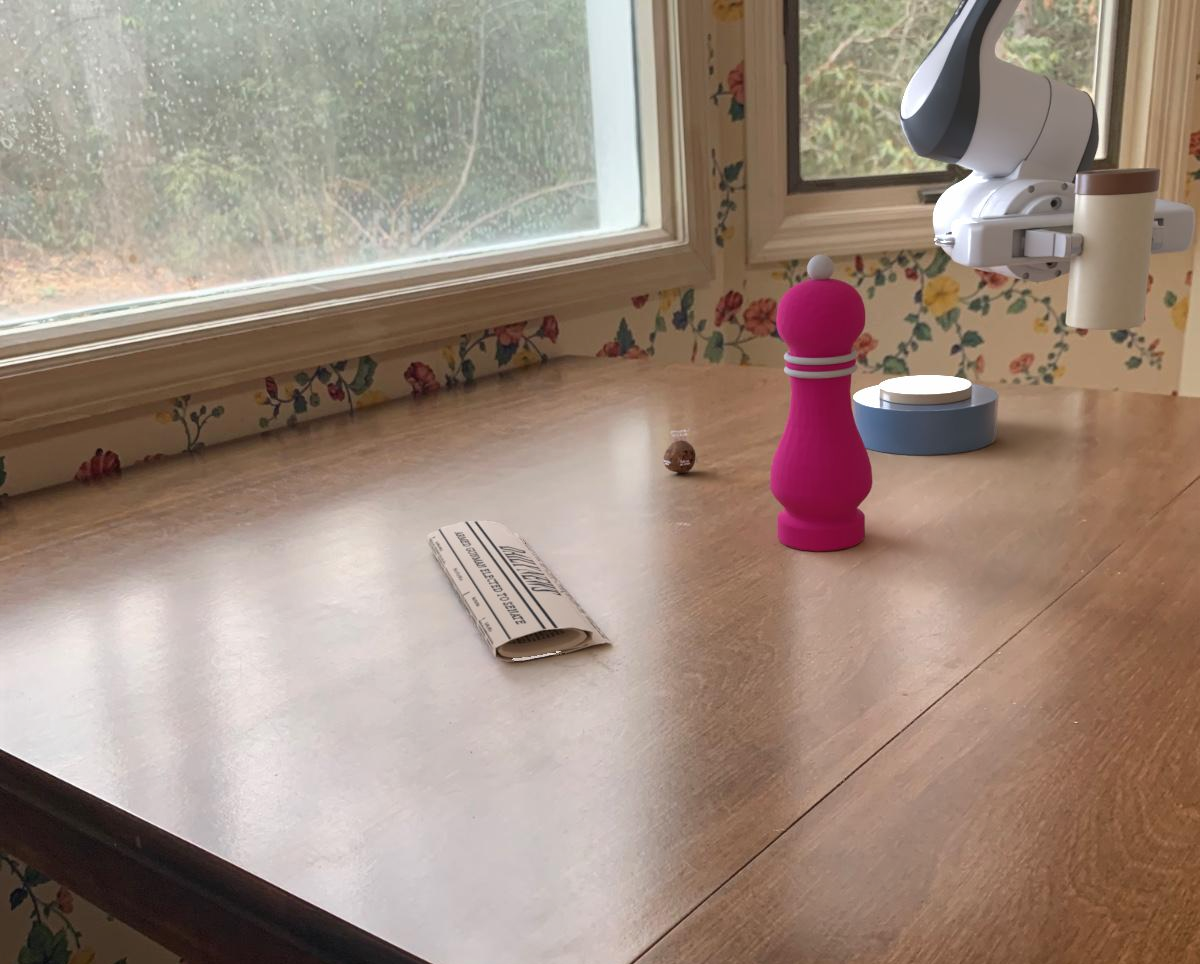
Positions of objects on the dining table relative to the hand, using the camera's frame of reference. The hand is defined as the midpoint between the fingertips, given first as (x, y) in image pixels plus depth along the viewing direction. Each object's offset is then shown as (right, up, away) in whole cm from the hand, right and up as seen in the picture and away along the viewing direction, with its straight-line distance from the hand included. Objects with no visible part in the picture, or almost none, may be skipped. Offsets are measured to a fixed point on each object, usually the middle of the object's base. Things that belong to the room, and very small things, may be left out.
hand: (1117, 242), depth 97 cm
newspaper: (-48, -28, -15) cm, 58 cm away
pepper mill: (-26, -24, -9) cm, 37 cm away
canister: (0, -6, +3) cm, 7 cm away
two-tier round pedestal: (-11, -13, +16) cm, 24 cm away
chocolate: (-34, -18, +10) cm, 40 cm away
